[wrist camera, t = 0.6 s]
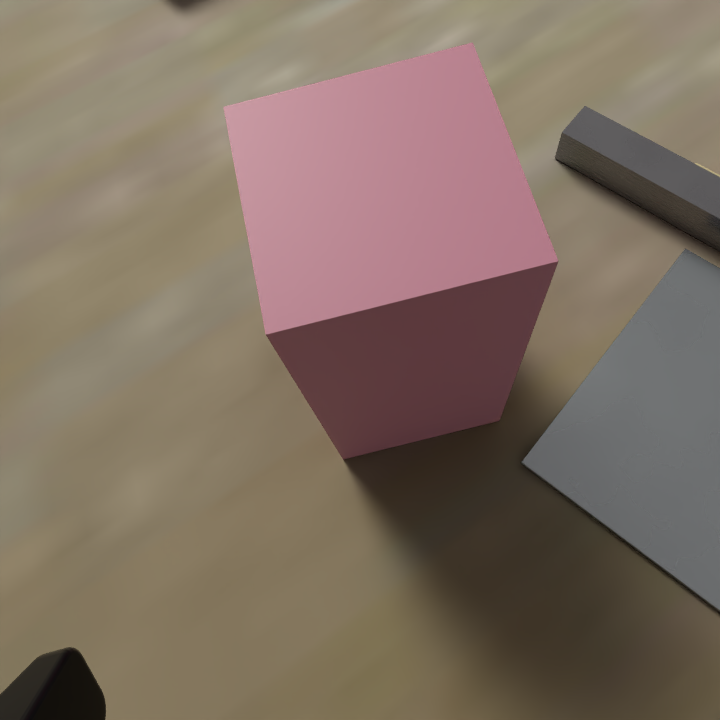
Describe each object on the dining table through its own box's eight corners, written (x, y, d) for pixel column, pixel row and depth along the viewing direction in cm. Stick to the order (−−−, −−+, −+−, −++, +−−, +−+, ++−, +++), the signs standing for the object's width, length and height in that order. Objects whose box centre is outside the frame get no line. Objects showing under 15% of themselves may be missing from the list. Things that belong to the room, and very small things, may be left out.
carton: (499, 420, 22) (557, 261, 12) (343, 459, 22) (266, 334, 12) (453, 275, 24) (468, 32, 14) (310, 311, 24) (221, 96, 14)
